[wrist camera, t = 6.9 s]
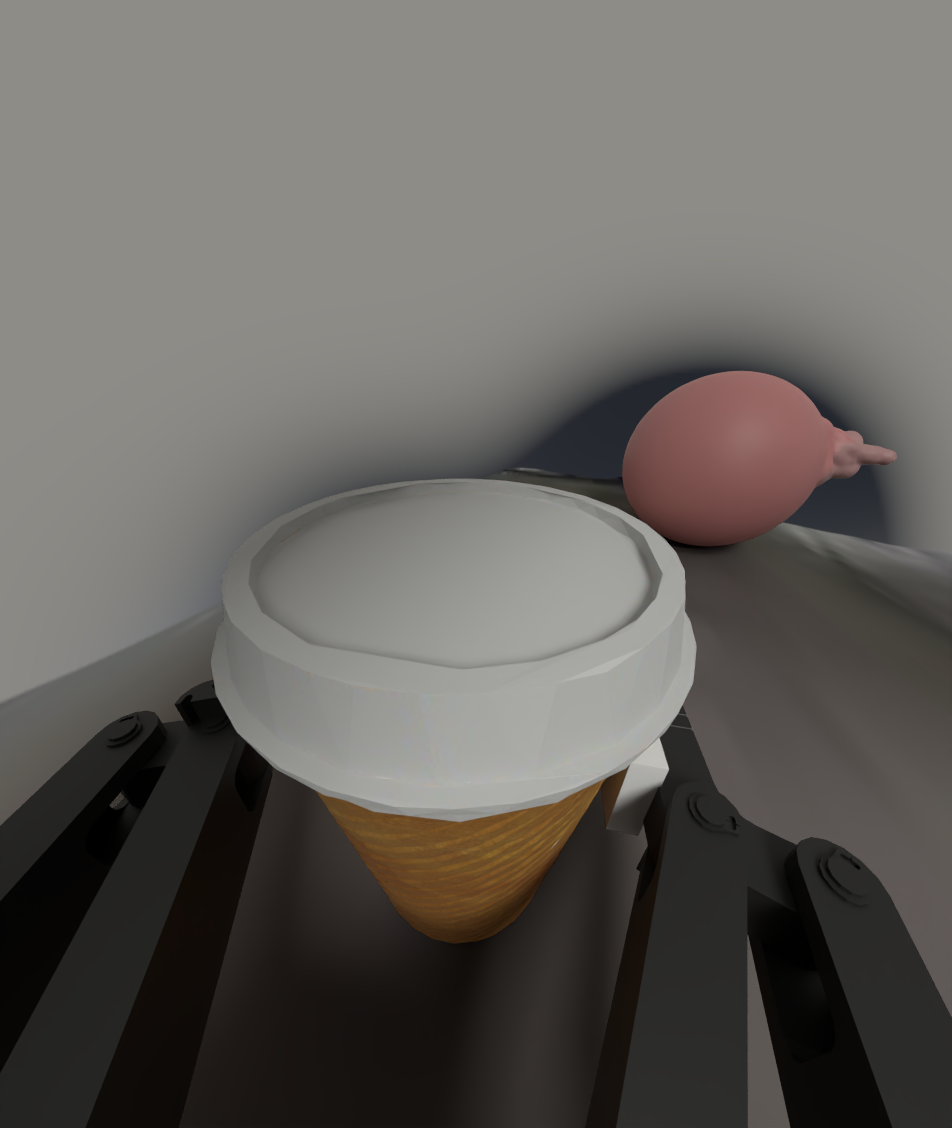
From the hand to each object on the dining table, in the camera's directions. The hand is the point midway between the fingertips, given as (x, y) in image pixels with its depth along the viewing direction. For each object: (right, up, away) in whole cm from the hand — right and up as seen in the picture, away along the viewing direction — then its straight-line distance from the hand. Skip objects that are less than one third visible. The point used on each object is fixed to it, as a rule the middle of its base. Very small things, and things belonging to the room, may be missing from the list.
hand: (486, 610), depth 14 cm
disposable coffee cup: (-1, -8, -1) cm, 8 cm away
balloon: (+24, +4, +22) cm, 32 cm away
